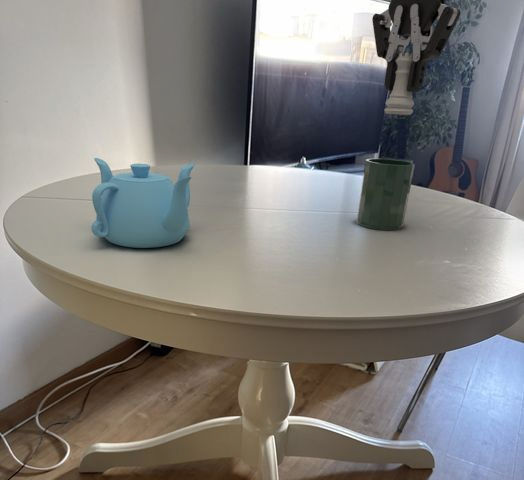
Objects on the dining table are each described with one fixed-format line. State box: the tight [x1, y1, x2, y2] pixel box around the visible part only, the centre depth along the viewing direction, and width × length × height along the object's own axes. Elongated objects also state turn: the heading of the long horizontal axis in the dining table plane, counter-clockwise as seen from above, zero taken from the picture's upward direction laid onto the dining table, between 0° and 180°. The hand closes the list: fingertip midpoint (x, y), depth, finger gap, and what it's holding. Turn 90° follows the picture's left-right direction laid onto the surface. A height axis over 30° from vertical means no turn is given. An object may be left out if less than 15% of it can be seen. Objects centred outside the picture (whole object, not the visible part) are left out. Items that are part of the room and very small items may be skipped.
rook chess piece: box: [383, 52, 415, 116], centre depth 72 cm, size 4×4×8 cm
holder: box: [356, 158, 416, 231], centre depth 83 cm, size 8×8×10 cm
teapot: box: [91, 157, 196, 249], centre depth 68 cm, size 15×15×10 cm
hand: (401, 90), depth 73 cm, fingers closed on rook chess piece, 3 cm apart
